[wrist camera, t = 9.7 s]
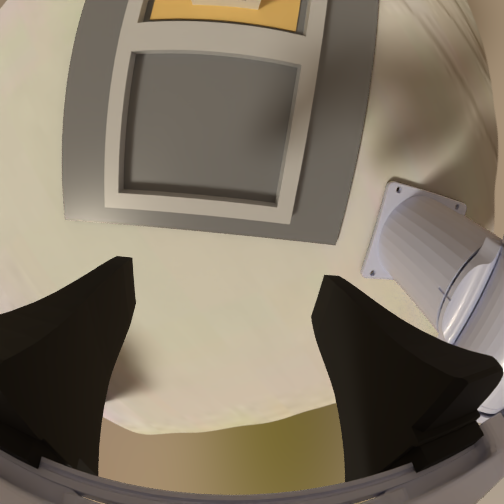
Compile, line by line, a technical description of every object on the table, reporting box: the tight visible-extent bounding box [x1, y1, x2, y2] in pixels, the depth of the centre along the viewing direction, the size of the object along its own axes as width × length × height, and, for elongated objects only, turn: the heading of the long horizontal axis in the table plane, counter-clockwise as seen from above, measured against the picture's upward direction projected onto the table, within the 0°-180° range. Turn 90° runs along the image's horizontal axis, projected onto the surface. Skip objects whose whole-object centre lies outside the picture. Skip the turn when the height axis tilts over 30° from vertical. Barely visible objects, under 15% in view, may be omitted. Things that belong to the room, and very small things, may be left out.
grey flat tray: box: [62, 0, 379, 245], centre depth 13 cm, size 20×25×2 cm
